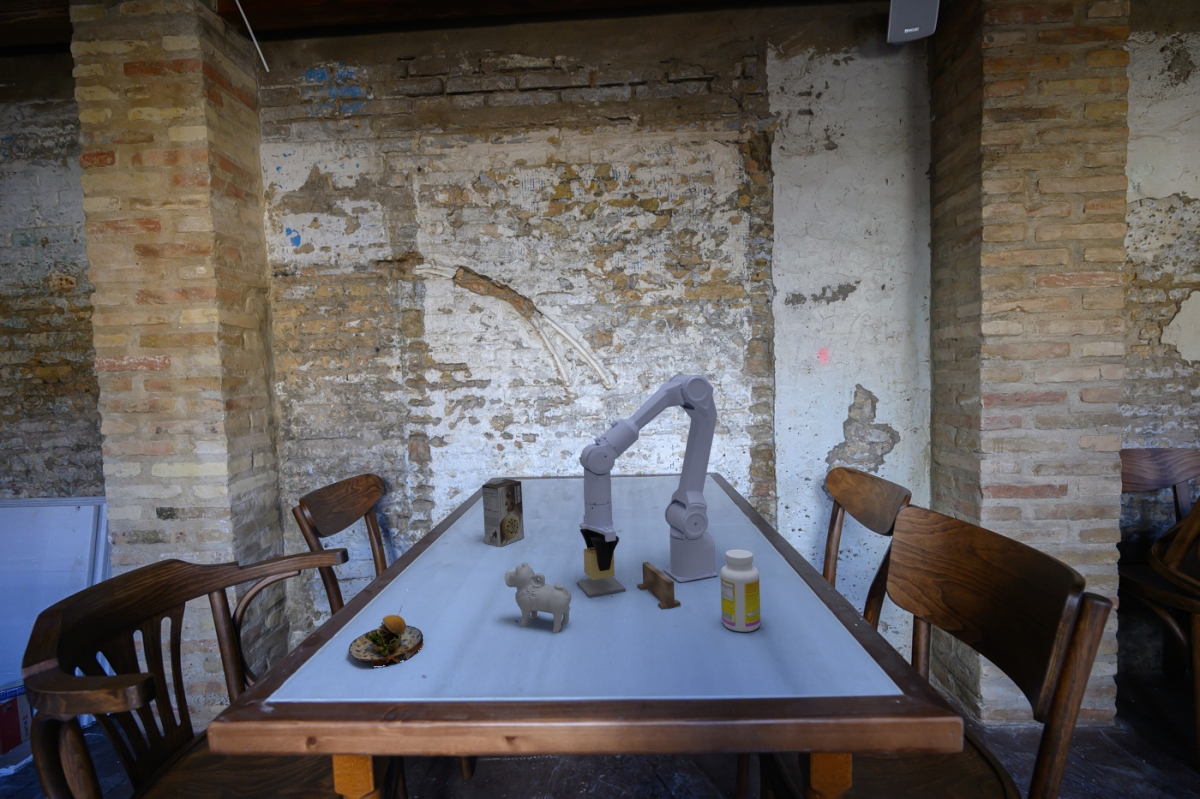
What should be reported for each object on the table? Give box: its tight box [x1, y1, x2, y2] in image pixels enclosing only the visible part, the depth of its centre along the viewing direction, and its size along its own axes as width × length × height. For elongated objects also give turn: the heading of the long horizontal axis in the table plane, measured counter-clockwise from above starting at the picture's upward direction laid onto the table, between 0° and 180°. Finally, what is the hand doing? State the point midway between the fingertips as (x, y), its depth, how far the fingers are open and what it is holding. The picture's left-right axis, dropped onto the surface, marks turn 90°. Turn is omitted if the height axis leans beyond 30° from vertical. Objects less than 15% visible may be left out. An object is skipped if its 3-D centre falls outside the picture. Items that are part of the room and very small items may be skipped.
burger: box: [347, 606, 424, 667], centre depth 94 cm, size 12×12×8 cm
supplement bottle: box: [720, 549, 761, 633], centre depth 98 cm, size 7×7×13 cm
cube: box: [583, 547, 616, 580], centre depth 117 cm, size 5×5×5 cm
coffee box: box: [481, 478, 525, 548], centre depth 151 cm, size 9×6×16 cm
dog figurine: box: [504, 561, 572, 634], centre depth 102 cm, size 5×13×11 cm, turn 69°
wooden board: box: [636, 561, 682, 610], centre depth 112 cm, size 12×4×5 cm, turn 20°
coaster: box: [576, 576, 627, 599], centre depth 117 cm, size 8×8×1 cm
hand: (599, 565), depth 117 cm, fingers closed on cube, 5 cm apart
